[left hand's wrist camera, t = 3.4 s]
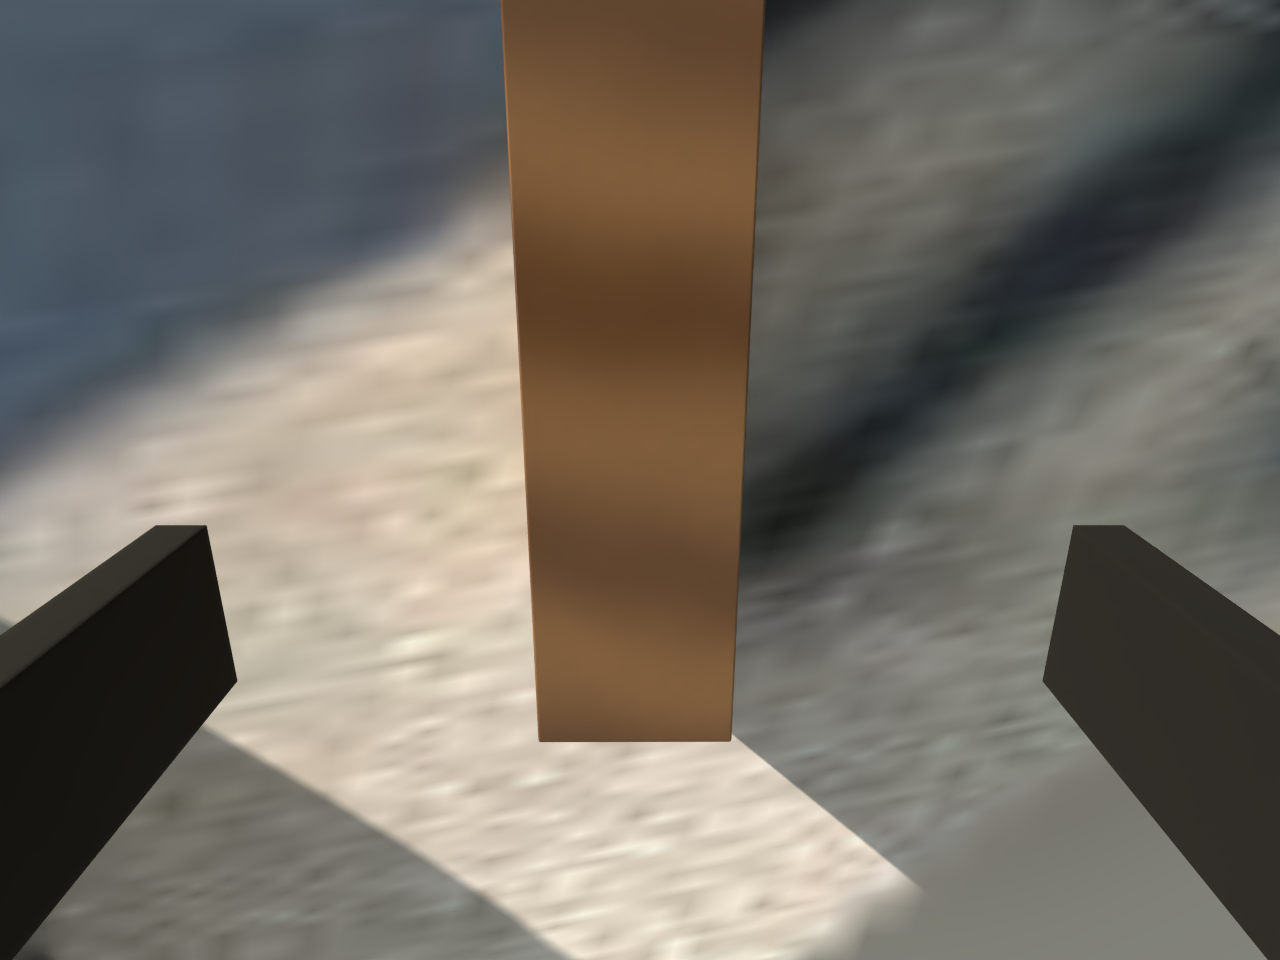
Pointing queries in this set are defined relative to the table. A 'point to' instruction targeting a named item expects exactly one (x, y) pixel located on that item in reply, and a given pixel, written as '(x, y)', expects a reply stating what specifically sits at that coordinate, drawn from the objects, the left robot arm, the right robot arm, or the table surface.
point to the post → (633, 351)
